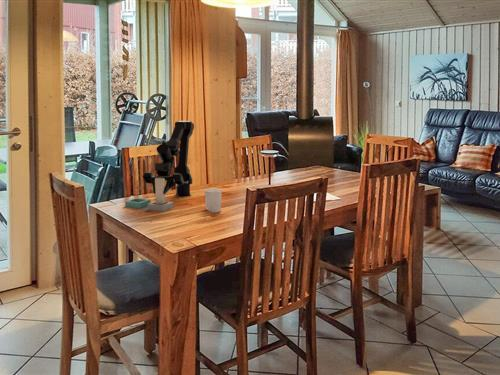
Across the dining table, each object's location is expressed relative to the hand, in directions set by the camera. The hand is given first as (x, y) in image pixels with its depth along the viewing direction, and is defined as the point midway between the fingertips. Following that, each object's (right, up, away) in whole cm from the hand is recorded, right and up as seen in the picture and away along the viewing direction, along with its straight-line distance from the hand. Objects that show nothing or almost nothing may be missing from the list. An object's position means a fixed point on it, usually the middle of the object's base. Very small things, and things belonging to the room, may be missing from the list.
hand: (159, 193), depth 240 cm
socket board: (-6, -7, +5) cm, 11 cm away
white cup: (+25, -8, +3) cm, 26 cm away
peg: (0, -7, +3) cm, 7 cm away
